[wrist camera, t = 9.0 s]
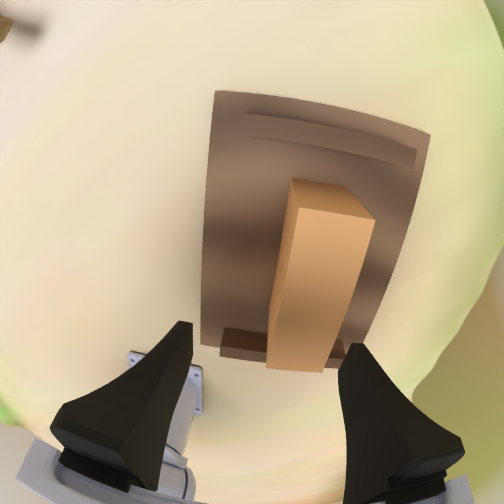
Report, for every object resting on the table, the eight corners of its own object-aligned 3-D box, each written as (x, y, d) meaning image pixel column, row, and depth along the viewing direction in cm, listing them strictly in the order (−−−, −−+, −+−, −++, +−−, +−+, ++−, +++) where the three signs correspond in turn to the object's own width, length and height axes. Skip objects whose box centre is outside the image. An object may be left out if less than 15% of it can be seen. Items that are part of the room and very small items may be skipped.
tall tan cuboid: (313, 313, 22) (321, 372, 16) (269, 308, 22) (266, 367, 16) (345, 186, 17) (375, 220, 12) (291, 177, 17) (299, 207, 12)
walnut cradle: (352, 354, 25) (357, 378, 22) (202, 338, 25) (195, 362, 22) (425, 133, 16) (447, 138, 13) (217, 91, 16) (206, 87, 13)
